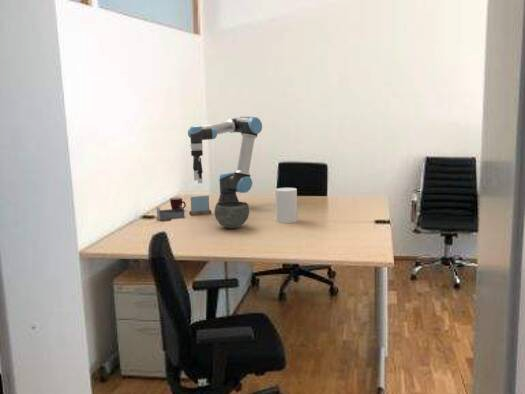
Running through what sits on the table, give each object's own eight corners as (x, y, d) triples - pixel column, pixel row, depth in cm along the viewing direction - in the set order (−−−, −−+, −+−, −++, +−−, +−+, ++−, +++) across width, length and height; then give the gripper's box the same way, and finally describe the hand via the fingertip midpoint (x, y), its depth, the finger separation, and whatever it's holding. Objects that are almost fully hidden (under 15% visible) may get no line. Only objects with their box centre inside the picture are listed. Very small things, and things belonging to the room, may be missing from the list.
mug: (183, 210, 406) (182, 196, 404) (187, 212, 399) (187, 198, 398) (169, 212, 401) (168, 198, 399) (173, 214, 394) (173, 199, 392)
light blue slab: (208, 212, 391) (208, 195, 389) (209, 213, 390) (208, 195, 388) (191, 214, 388) (190, 196, 386) (191, 214, 386) (191, 197, 384)
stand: (209, 213, 394) (209, 209, 394) (211, 215, 388) (211, 211, 387) (189, 215, 390) (188, 210, 390) (191, 217, 384) (191, 212, 383)
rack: (180, 215, 391) (180, 204, 390) (184, 218, 379) (184, 208, 378) (157, 217, 387) (156, 206, 385) (159, 221, 374) (159, 210, 373)
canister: (283, 217, 376) (282, 187, 373) (301, 219, 369) (300, 188, 365) (271, 221, 366) (270, 190, 362) (289, 223, 358) (289, 191, 354)
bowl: (242, 232, 339) (241, 207, 336) (209, 230, 346) (208, 205, 344) (254, 224, 358) (254, 200, 356) (223, 222, 366) (222, 199, 363)
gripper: (187, 148, 392) (189, 179, 396) (194, 151, 368) (196, 184, 372) (198, 147, 394) (200, 178, 398) (206, 151, 371) (207, 184, 374)
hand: (198, 181), depth 385 cm, fingers open, 13 cm apart
